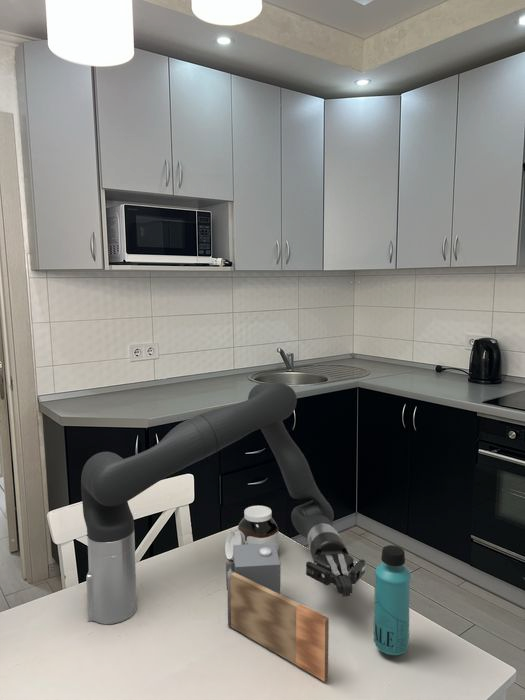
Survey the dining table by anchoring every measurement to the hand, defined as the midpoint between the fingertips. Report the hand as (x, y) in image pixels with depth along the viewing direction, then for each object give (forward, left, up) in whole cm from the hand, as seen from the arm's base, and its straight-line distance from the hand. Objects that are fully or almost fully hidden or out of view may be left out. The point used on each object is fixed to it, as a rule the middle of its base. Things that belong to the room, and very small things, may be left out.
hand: (346, 591), depth 98 cm
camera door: (-14, -2, -9) cm, 17 cm away
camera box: (-16, +11, -10) cm, 22 cm away
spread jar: (-16, +33, -10) cm, 38 cm away
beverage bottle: (+7, -4, -10) cm, 13 cm away
